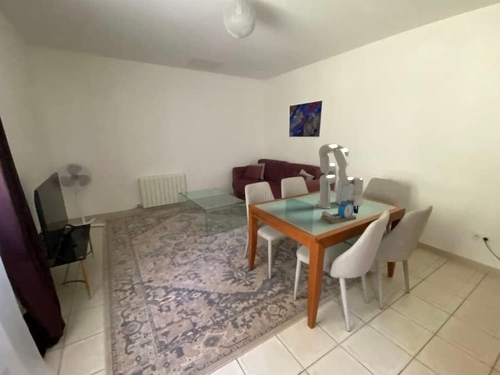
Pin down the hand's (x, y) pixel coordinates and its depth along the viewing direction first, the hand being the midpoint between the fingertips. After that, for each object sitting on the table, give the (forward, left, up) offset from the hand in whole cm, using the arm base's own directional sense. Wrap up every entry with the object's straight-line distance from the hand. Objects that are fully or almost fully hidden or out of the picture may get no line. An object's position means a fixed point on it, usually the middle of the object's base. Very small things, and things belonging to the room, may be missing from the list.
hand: (355, 213), depth 191 cm
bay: (0, -17, -2) cm, 17 cm away
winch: (+1, -30, -2) cm, 30 cm away
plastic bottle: (-30, +17, -2) cm, 34 cm away
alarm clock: (0, -11, -2) cm, 12 cm away
